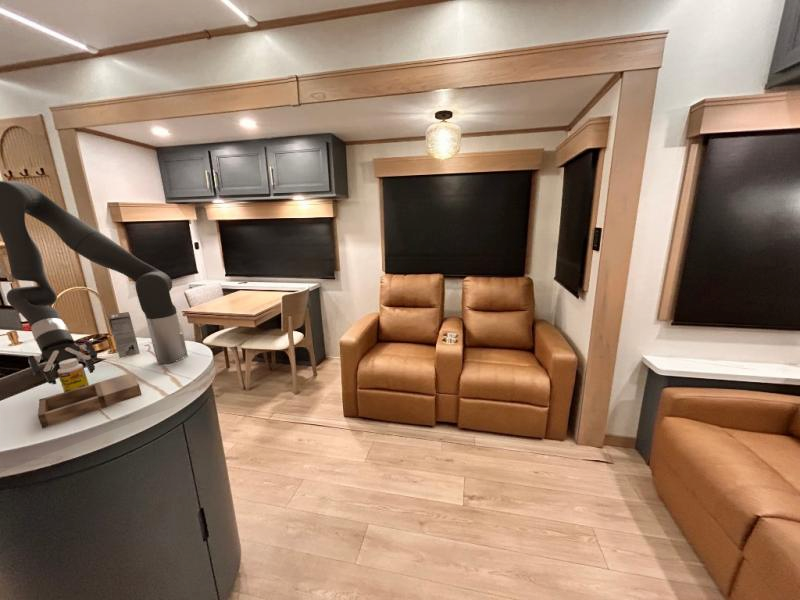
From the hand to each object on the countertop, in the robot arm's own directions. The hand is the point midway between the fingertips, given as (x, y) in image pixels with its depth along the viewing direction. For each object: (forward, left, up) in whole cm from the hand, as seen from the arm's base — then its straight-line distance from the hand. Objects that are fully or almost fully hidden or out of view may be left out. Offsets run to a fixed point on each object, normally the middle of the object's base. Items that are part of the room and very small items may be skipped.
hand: (74, 377), depth 97 cm
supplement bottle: (0, -1, -5) cm, 6 cm away
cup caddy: (-3, +13, -5) cm, 14 cm away
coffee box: (-16, -28, -5) cm, 33 cm away
